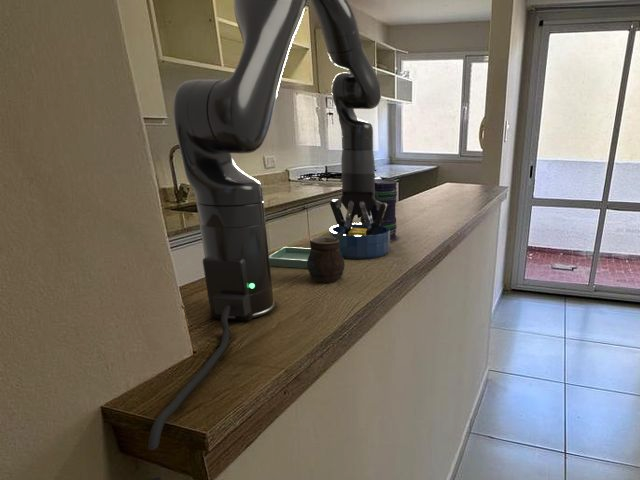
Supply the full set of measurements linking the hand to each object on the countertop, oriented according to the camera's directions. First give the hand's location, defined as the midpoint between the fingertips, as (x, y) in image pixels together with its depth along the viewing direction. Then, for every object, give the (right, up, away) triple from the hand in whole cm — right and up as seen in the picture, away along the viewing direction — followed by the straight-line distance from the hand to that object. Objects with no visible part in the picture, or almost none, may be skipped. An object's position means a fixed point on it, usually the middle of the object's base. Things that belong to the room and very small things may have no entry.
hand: (359, 243), depth 109 cm
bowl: (0, -2, -1) cm, 2 cm away
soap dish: (-12, -5, -10) cm, 16 cm away
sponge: (0, 0, 0) cm, 0 cm away
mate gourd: (-4, -11, -21) cm, 24 cm away
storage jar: (+3, +4, +14) cm, 15 cm away
